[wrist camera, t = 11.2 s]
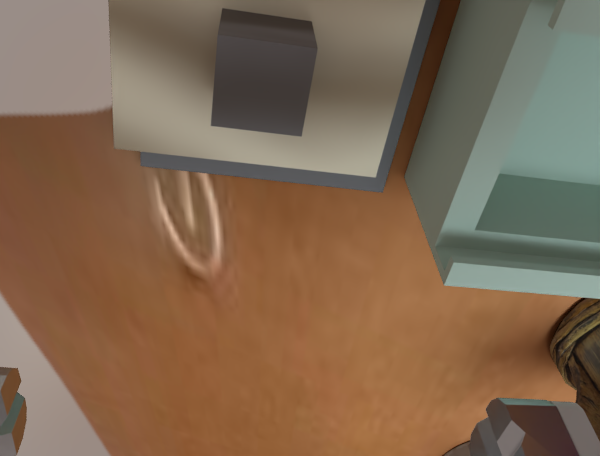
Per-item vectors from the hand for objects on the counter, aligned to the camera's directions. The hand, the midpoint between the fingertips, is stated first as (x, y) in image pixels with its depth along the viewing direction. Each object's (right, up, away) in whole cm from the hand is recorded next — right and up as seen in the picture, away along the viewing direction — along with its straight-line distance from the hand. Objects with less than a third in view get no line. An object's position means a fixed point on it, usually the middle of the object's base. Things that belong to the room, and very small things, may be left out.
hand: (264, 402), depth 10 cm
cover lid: (-1, +11, +14) cm, 18 cm away
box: (+13, +9, +17) cm, 23 cm away
